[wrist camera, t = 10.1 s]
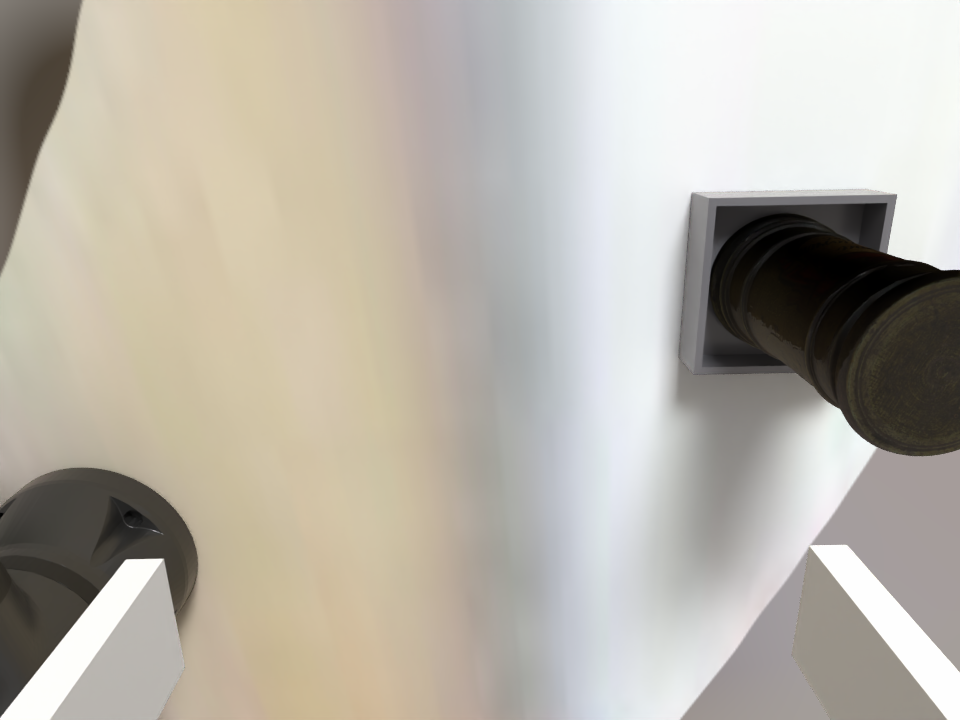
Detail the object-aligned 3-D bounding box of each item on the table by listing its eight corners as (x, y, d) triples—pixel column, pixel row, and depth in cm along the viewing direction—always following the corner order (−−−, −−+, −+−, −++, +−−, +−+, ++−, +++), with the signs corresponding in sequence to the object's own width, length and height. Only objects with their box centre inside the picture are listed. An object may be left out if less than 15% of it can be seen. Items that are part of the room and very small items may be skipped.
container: (825, 346, 48) (1018, 470, 31) (696, 340, 48) (820, 462, 31) (854, 215, 45) (1085, 272, 28) (717, 208, 45) (867, 262, 28)
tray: (678, 357, 49) (693, 374, 46) (691, 192, 45) (709, 198, 42) (839, 354, 49) (866, 371, 46) (866, 189, 45) (897, 194, 42)
